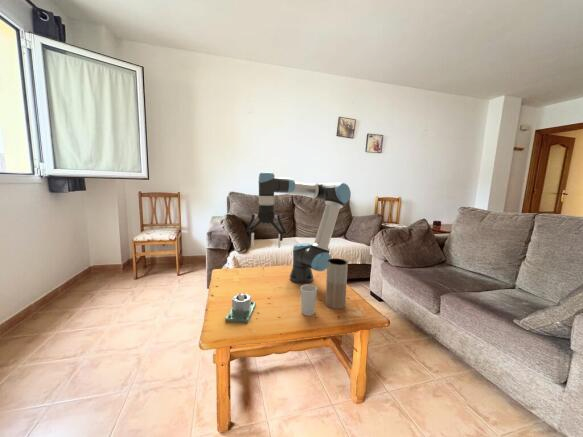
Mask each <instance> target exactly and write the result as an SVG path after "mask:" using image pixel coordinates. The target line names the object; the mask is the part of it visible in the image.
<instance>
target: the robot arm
mask: <svg viewBox="0 0 583 437" xmlns="http://www.w3.org/2000/svg"><path fill="white" fill-rule="evenodd" d="M257 182H258V204H259V205H258V214H256V213H252V215H251V219H250V221H249V223H248V225H247V227H246V229H245V233H247V234H248V235H249V236H248V239H249V241H250V242H251V243H250V245H251V248H253V247H254V245H255V232H254V231H255V230H256V229H257V227H258V226H260V224H271V225H272V226H273V227H274V229H275V230H276V231H277V232H278V239H277V240H278V241H277V242H278V244H277V245H278V248H279V249H280V248H281V242H282V241H283V239H284V238H283V237H284V235H285V234H286V233H287V229H286V227H285V225H284V223H283V221H282V219H281V214H280V213H279V214H275V205H274V204H275V193H279V194H288V195H295V196H303V197H310V198H311V199H316V200H320V201H322V202H323V201H324V203H325V207H324V210H323V213H322V217H321V220H320V223H319V227H318V229H317V232H316V236H315V239H314V242H313V243H307V242H306V243H304V242H303V243H297V244H294V245H293V248H292V268H291V272H290V274H289V280H290V281H291V282H293V283H296V284H310V283H311V282H313V281H314V275H313V271H317V272H324V271H325V270H327V261H328V260H329V259H332V256H331V254H330V252H331V251H330V250H331V249H329V246H330V242H331V239H332V237H333V236H332V235H333V233H334V229H335V226H336V223H337V219H338V215H339V213H340V210H341V209H342V208H344V206H345V204H346V203H348V202H349V201H350V200H351V189H350V187H349V185H348V184H347V183H344V182H323V183H321V182H319V183H318V182H317V183H316V182H313V183H307V182H306V183H305V182H300V181H299V182H298V181H295V179H293V178H292V177H276V176H275V173H273V172H260V173H259V176H258V181H257ZM257 218H258V219H259V220H258V221H257V222H256V224H255V225H253V223H254V222H255V220H256V219H257ZM274 219H276V220H277V221H278V223H279V226H280V227H279V226H278V225H277V223H276V222H275V221H274ZM252 226H253V227H252ZM312 270H313V271H312Z"/></svg>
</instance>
